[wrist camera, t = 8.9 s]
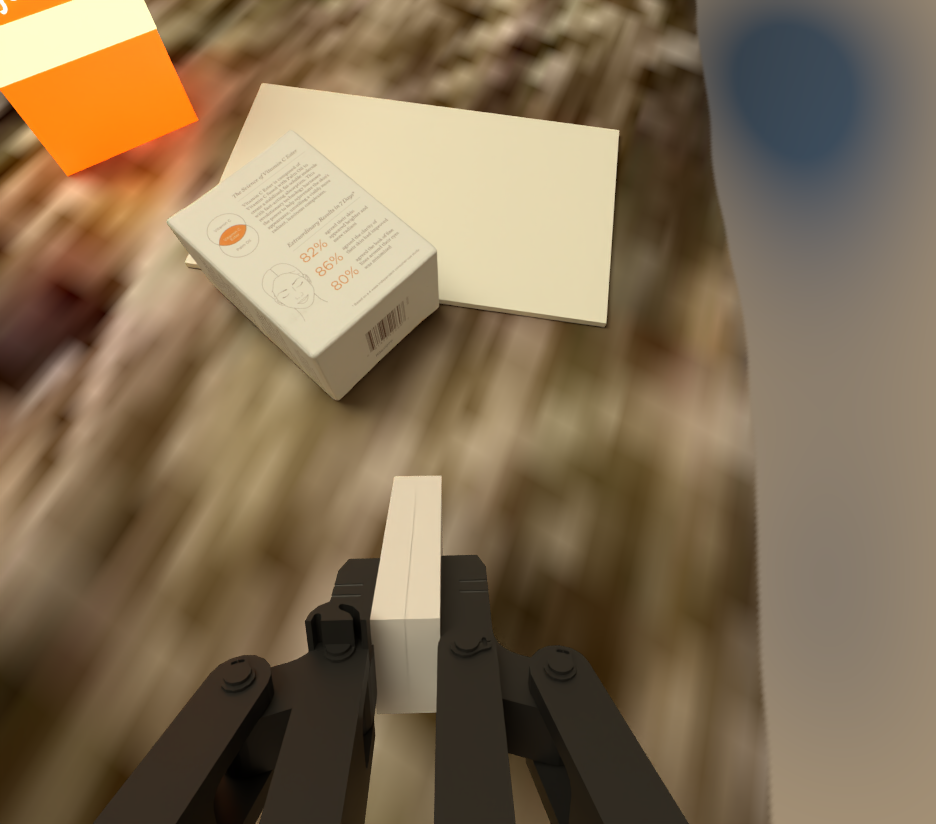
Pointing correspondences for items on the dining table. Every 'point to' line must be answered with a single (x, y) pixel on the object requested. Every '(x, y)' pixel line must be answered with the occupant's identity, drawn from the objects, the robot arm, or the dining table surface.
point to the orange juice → (89, 77)
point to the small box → (312, 261)
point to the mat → (469, 192)
